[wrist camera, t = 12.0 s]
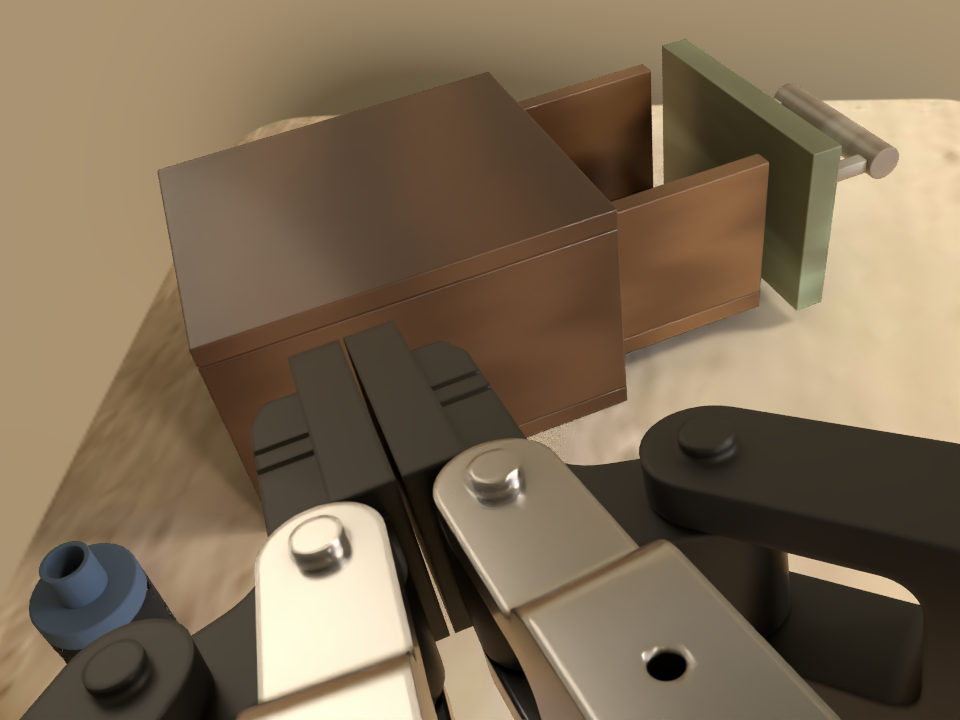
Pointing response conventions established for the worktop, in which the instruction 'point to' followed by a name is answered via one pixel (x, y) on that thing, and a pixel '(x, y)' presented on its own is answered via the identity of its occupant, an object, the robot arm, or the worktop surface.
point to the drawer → (710, 186)
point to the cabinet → (402, 254)
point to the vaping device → (90, 595)
